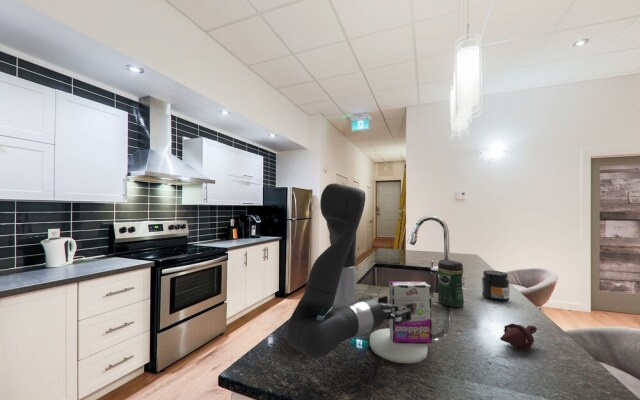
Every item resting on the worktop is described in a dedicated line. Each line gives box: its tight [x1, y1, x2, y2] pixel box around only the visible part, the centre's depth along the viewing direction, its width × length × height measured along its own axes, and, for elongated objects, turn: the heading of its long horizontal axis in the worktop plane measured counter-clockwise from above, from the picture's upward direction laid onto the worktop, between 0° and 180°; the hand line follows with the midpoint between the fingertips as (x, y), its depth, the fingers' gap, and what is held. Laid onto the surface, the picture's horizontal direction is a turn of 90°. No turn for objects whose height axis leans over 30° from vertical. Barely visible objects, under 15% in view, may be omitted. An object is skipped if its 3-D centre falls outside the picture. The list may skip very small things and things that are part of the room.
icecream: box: [499, 323, 538, 352], centre depth 76 cm, size 7×7×15 cm
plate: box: [369, 327, 429, 364], centre depth 76 cm, size 16×16×2 cm
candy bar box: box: [388, 281, 433, 345], centre depth 77 cm, size 11×5×16 cm, turn 89°
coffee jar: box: [437, 259, 465, 308], centre depth 112 cm, size 10×8×19 cm
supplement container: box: [481, 269, 511, 303], centre depth 120 cm, size 10×10×12 cm
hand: (398, 303), depth 76 cm, fingers open, 8 cm apart
